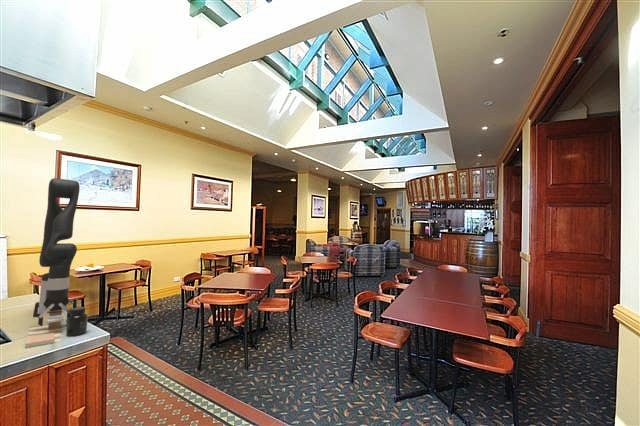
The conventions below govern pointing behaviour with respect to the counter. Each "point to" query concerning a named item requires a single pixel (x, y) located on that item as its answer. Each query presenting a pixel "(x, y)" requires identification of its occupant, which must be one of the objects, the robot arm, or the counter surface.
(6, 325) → the counter surface
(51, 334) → the tile
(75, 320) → the supplement bottle
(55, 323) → the brown block
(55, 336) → the board
